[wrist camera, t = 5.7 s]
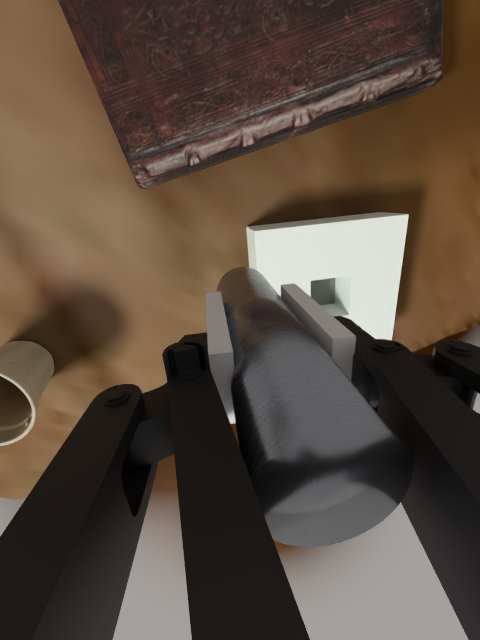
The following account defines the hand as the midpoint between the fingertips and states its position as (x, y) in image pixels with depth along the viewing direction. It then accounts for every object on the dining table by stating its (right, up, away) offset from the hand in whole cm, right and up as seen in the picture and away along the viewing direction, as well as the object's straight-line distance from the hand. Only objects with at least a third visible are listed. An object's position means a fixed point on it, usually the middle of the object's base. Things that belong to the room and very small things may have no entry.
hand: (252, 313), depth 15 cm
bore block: (+9, +4, +21) cm, 23 cm away
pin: (0, +1, +3) cm, 4 cm away
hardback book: (0, +26, +11) cm, 29 cm away
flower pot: (-26, -5, +20) cm, 34 cm away
